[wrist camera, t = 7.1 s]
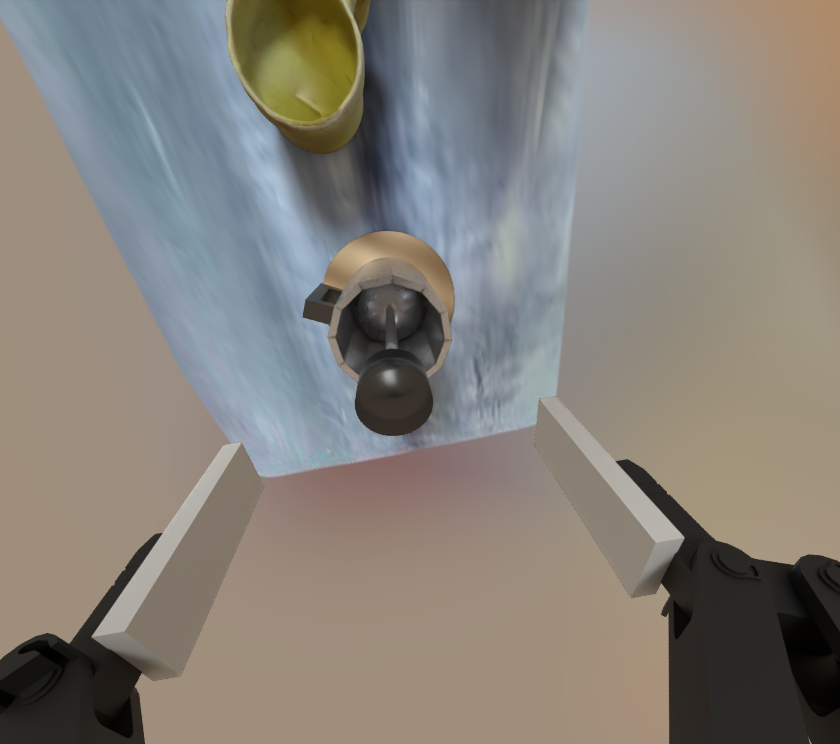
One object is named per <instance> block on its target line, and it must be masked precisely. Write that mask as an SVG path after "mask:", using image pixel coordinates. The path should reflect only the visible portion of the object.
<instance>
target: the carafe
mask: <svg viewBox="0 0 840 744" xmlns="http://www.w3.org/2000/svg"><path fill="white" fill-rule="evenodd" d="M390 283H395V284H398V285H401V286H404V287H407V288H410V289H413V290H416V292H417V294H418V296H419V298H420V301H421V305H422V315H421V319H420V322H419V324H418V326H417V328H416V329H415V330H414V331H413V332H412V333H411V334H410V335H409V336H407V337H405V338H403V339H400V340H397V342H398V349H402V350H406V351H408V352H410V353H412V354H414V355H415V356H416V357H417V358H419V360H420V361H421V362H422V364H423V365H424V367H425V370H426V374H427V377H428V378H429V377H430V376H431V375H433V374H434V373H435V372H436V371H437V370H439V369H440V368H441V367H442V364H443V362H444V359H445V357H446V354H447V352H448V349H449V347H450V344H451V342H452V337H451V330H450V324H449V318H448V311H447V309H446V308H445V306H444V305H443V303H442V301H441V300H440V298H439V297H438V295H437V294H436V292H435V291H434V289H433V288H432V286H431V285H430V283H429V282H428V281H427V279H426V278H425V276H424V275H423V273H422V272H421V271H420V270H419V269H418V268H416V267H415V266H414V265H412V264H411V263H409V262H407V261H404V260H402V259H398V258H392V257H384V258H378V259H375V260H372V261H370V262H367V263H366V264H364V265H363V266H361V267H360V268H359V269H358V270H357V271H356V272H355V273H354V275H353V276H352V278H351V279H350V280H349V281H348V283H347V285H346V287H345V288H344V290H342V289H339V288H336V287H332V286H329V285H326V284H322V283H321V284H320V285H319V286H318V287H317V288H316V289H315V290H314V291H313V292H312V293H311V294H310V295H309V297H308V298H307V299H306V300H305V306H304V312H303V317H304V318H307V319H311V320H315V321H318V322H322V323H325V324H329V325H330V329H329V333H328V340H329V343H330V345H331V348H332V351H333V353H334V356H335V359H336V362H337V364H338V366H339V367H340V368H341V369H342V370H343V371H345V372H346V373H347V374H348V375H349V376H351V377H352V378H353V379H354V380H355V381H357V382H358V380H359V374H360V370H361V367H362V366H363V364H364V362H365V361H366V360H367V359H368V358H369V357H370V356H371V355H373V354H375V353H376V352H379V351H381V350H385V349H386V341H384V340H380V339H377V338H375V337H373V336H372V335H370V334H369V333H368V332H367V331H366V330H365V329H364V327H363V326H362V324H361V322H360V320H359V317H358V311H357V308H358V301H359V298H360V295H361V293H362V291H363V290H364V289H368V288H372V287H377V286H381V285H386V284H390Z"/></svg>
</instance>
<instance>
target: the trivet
mask: <svg viewBox="0 0 840 744" xmlns="http://www.w3.org/2000/svg"><path fill="white" fill-rule="evenodd" d="M384 257H392V258H398V259H402V260H404V261H407V262H409V263H411V264H412V265H414V266H415V267H416V268H418V269H419V270H420V271H421V272H422V273H423V275H424V276H425V278H426V279H427V281H428V282H429V283H430V285H431V286H432V288H433V289H434V291H435V292H436V294H437V295H438V297H439V298H440V300H441V301H442V303H443V305H444V306H445V308H446V309H447V311H448V318H449V323H450V320H451V317H452V314H453V308H454V288H453V283H452V279H451V277H450V274H449V271H448V269H447V267H446V265H445V264H444V262H443V261H442V259H441V258H440V257H439V256H438V254H437V253H436V252H435V251H434V250H433V249H432V248H430V247H429V246H428V245H427V244H425V243H424V242H422V241H421V240H419V239H417V238H415V237H413V236H411V235H408V234H404V233H401V232H394V231H379V232H372V233H369V234H366V235H363V236H361V237H358V238H356V239H354V240H353V241H351V242H350V243H348V244H347V245H346V246H345V247H344V248H342V249H341V250H340V251H339V252H338V254H337V255H336V256H335V257H334V259H333V260H332V262H331V263H330V265H329V267H328V269H327V272H326V274H325V278H324V281H323V284H326V285H329V286H332V287H336V288H339V289H342V290H344V288H345V287H346V285H347V283H348V281H349V280H350V279H351V278H352V276H353V275H354V273H355V272H356V271H357V270H358V269H359V268H360V267H361V266H363V265H364V264H366V263H367V262H370V261H372V260H375V259H378V258H384ZM329 326H330V325H329Z"/></svg>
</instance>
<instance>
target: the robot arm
mask: <svg viewBox="0 0 840 744" xmlns="http://www.w3.org/2000/svg"><path fill="white" fill-rule="evenodd" d="M535 447H536V448H537V450H538V452H539V453H540V455H541V456H542V458H543V459H544V461H545V463H546V464H547V466H548V468H549V469H550V471H551V472H552V474H553V475H554V477H555V479H556V480H557V482H558V483H559V485H560V486H561V488H562V490H563V491H564V493H565V495H566V496H567V498H568V499H569V501H570V502H571V504H572V506H573V507H574V509H575V510H576V512H577V513H578V515H579V517H580V518H581V520H582V521H583V523H584V525H585V526H586V528H587V529H588V531H589V533H590V534H591V536H592V537H593V539H594V541H595V542H596V544H597V545H598V547H599V548H600V550H601V552H602V553H603V555H604V556H605V558H606V560H607V561H608V562H609V564H610V566H611V568H612V569H613V571H614V572H615V574H616V575H617V577H618V579H619V580H620V582H621V583H622V585H623V587H624V588H625V590H626V591H627V593H628V594H629V596H630V598H635V597H640V596H646V595H652V594H656V592H657V590H658V588H659V586H660V584H661V583H662V584H663V586H664V587H665V588H666V590H667V591H668V592H669V594H670V597H669V598H668V600H667V602H666V604H665V606H664V607H663V610H662V613H661V615H663V616H665V617H666V616H667V614H668V613H669V744H810V743H809V739H810V741H811V743H812V744H840V562H838V561H837V560H833V559H830V558H827V557H824V556H820V555H806V556H803V557H801V558H800V559H799V560H798V561H797V562H796V563H795V565H790V564H784V563H777V562H771V561H765V560H758V559H753V558H751V557H750V556H748V555H747V554H746V553H744V552H743V551H741V550H739V549H738V548H736V547H733V546H731V545H729V544H727V543H723V542H719V541H716V540H715V539H714V538H712V537H711V536H710V535H709V534H708V533H707V532H706V531H705V530H704V529H703V528H702V527H701V526H700V525H699V524H698V523H697V522H696V521H695V520H694V519H693V518H692V517H691V516H690V515H689V514H688V513H687V512H686V511H685V510H684V509H683V508H682V507H681V506H680V505H679V504H678V503H677V502H676V501H675V500H674V499H673V498H672V497H671V496H670V495H668V494H667V492H666V491H665V490H664V489H663V488H662V487H661V486H660V485H659V484H657V483H656V481H655V480H654V479H653V478H652V477H651V476H650V475H649V474H648V473H647V472H646V471H645V470H644V469H643V468H641V467H639V466H638V465H636V464H635V463H633V462H631V461H630V460H628V459H627V460H620V461H614V459H612V457H611V456H610V455H609V454H608V453H607V452H606V451H605V450H604V448H603V447H602V446H601V445H600V444H599V443H598V442H597V441H596V440H595V439H594V438H593V437H592V435H591V434H590V433H589V432H588V431H587V430H586V429H585V428H584V427H583V425H582V424H581V423H580V422H579V421H578V420H577V419H576V418H575V417H574V416H573V414H572V413H571V412H570V411H569V410H568V409H567V408H566V407H565V406H564V405H563V404H562V402H561V401H560V400H559V399H558V398H557V397H556V396H554V397H547V398H540V399H539V405H538V415H537V425H536V434H535ZM263 488H264V485H263V483H262V481H261V479H260V477H259V475H258V473H257V471H256V469H255V467H254V465H253V463H252V461H251V459H250V458H249V456H248V454H247V452H246V450H245V448H244V446H243V444H242V443H235V444H228V445H223V447H222V449H221V450H220V451H219V453H218V454H217V456H216V457H215V458H214V460H213V462H212V463H211V464H210V466H209V467H208V469H207V470H206V472H205V473H204V474H203V476H202V477H201V479H200V480H199V482H198V483H197V485H196V486H195V487H194V489H193V490H192V492H191V493H190V495H189V496H188V498H187V499H186V501H185V502H184V503H183V505H182V506H181V508H180V509H179V511H178V512H177V514H176V515H175V517H174V518H173V520H172V521H171V522H170V524H169V525H168V527H167V528H166V530H165V531H164V533H159V534H155V535H154V536H153V537H151V538H150V539H149V540H148V541H147V542H146V543H145V544H144V545H143V546H142V547H141V548H140V549H139V550H138V551H137V552H136V553H135V555H134V556H133V558H132V559H131V560H130V562H129V563H128V564H127V566H126V567H125V568H126V569H125V571H122V573H121V574H120V575H119V577H118V578H117V580H116V581H115V585H114V586H111V588H110V589H109V591H108V592H107V593H106V595H105V596H104V597H103V599H102V600H101V601H100V603H99V604H98V606H97V607H96V608H95V610H94V611H93V613H92V614H91V615H90V617H89V618H88V619H87V621H86V622H85V623H84V625H83V626H82V628H81V629H80V630H79V632H78V633H77V635H76V636H75V637H74V638H73V640H72V641H71V643H70V644H68V643H66V642H65V641H63V640H62V639H60V638H59V637H57V636H56V635H53V634H49V633H46V634H43V635H39V636H35V637H33V638H32V639H30V640H28V641H26V642H24V643H22V644H21V645H19V646H18V647H16V648H15V649H14V650H12V651H11V652H10V653H8V654H7V655H5V656H4V657H3V658H2V659H1V660H0V744H145V740H144V732H143V724H142V715H141V707H140V698H139V693H138V691H137V689H136V688H135V687H134V686H135V684H136V683H137V681H138V679H139V677H140V675H141V673H142V674H144V675H145V676H147V677H148V678H150V679H151V680H152V681H157V680H162V679H168V678H174V677H180V676H181V675H182V673H183V671H184V668H185V666H186V663H187V662H188V659H189V657H190V655H191V652H192V650H193V648H194V646H195V643H196V641H197V639H198V637H199V634H200V632H201V630H202V627H203V625H204V623H205V621H206V618H207V616H208V614H209V611H210V609H211V607H212V605H213V602H214V600H215V598H216V596H217V593H218V591H219V589H220V586H221V584H222V582H223V580H224V577H225V575H226V573H227V570H228V568H229V566H230V564H231V561H232V559H233V557H234V555H235V552H236V550H237V548H238V546H239V543H240V541H241V538H242V536H243V534H244V532H245V529H246V527H247V525H248V523H249V520H250V518H251V516H252V514H253V511H254V509H255V507H256V505H257V502H258V500H259V498H260V495H261V493H262V491H263ZM808 737H809V738H808Z"/></svg>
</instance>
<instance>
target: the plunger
mask: <svg viewBox="0 0 840 744" xmlns="http://www.w3.org/2000/svg"><path fill="white" fill-rule="evenodd" d="M357 311H358V317H359V320H360V322H361V324H362V326H363V327H364V329H365V330H366V331H367V332H368V333H369V334H370V335H372V336H373V337H375V338H377V339H380V340H384V341H386V349H385V350H381V351H379V352H376V353H375V354H373V355H371V356H370V357H369V358H368V359H367V360H366V361H365V362H364V364H363V366H362V367H361V370H360V374H359V380H358V386H357V392H356V398H355V410H356V413H357V416H358V418H359V419H360V421H361V422H362V423H363V424H364V425H365V426H366V427H367V428H369V429H370V430H372V431H374V432H376V433H378V434H382V435H387V436H399V435H404V434H408V433H410V432H412V431H414V430H416V429H418V428H419V427H421V426H422V425H423V424H424V423H425V422H426V420H427V419H428V418H429V416H430V414H431V411H432V407H433V397H432V393H431V389H430V385H429V381H428V377H427V374H426V370H425V367H424V365H423V364H422V362H421V361H420V360H419V358H417V357H416V356H415V355H414V354H412V353H410V352H408V351H406V350H402V349H398V342H397V340H400V339H403V338H405V337H407V336H409V335H410V334H411V333H412V332H413V331H414V330H415V329H416V328H417V326H418V324H419V322H420V319H421V315H422V305H421V301H420V298H419V296H418V294H417V292H416V290H413V289H410V288H407V287H404V286H401V285H398V284H395V283H390V284H386V285H381V286H377V287H372V288H368V289H364V290H363V291H362V293H361V295H360V298H359V301H358V308H357Z"/></svg>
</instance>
